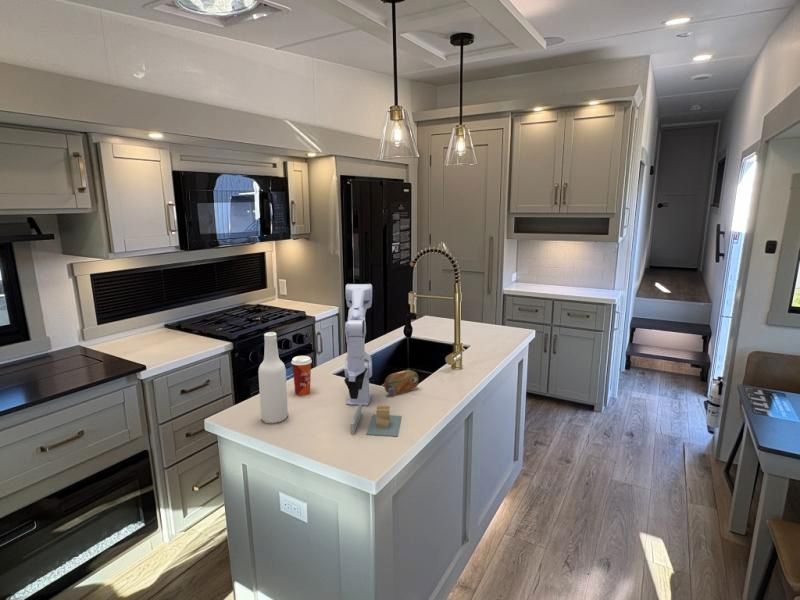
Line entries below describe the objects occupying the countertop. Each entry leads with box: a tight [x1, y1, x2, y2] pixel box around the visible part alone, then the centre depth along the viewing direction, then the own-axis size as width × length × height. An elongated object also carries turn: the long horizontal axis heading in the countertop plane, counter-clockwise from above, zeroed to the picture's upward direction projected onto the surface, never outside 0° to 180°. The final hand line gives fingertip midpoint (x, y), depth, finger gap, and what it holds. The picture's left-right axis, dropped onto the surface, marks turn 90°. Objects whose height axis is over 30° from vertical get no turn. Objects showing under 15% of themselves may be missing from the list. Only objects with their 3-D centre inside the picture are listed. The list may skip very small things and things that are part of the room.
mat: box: [365, 413, 403, 438], centre depth 149 cm, size 14×10×1 cm
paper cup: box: [290, 355, 313, 396], centre depth 174 cm, size 8×8×14 cm
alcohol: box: [257, 331, 289, 424], centre depth 151 cm, size 9×9×30 cm
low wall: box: [350, 405, 363, 435], centre depth 150 cm, size 14×1×4 cm, turn 175°
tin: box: [383, 369, 420, 397], centre depth 176 cm, size 15×3×8 cm, turn 124°
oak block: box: [375, 404, 390, 428], centre depth 149 cm, size 4×4×6 cm
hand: (356, 393), depth 151 cm, fingers open, 7 cm apart
